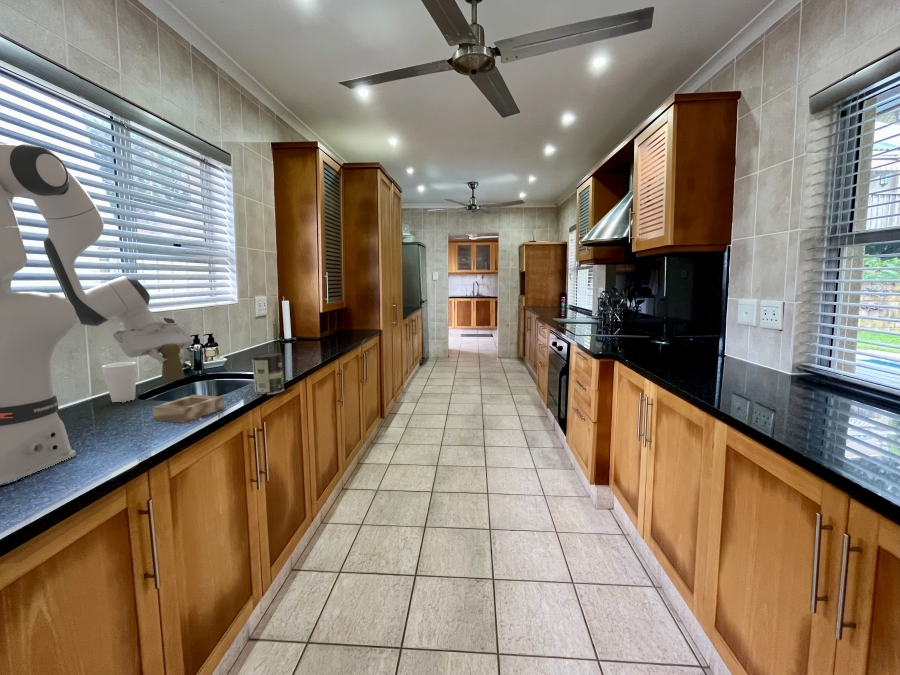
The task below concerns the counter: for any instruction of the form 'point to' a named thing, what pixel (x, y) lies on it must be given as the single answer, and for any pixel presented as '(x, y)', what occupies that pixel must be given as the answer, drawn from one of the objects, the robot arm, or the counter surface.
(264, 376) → the coffee can
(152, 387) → the counter surface
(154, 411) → the block
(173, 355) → the cork
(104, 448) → the counter surface
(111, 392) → the foam cup
